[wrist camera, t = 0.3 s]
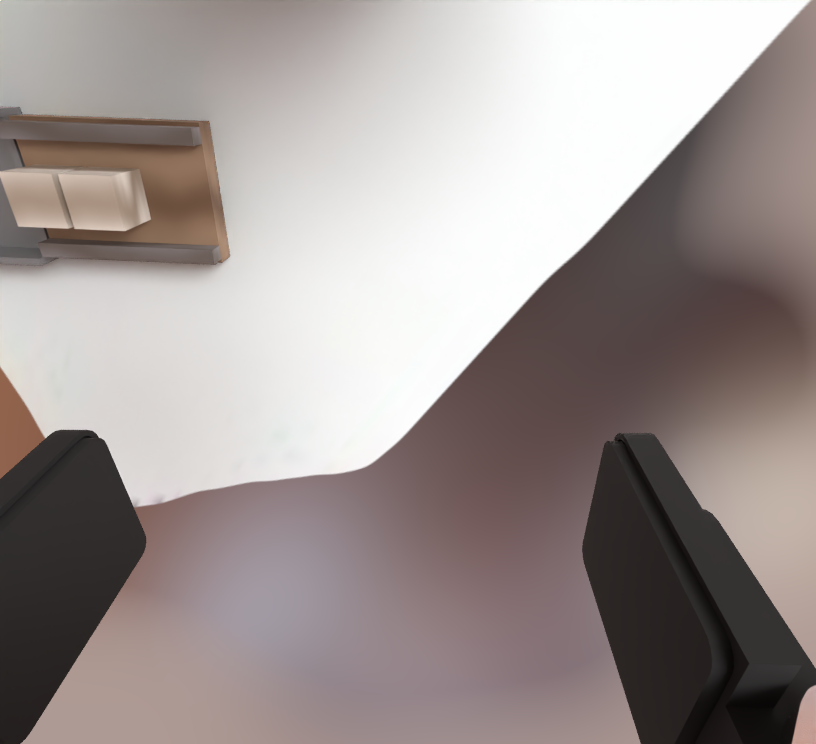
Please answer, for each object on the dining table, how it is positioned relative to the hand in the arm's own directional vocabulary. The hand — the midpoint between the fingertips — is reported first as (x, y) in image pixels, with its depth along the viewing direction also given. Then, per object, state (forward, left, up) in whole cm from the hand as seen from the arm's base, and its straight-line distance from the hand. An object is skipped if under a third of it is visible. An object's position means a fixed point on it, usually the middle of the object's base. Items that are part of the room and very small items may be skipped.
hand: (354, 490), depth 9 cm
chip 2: (+2, -24, -34) cm, 42 cm away
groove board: (+1, -24, -36) cm, 44 cm away
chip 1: (+1, -29, -34) cm, 45 cm away
